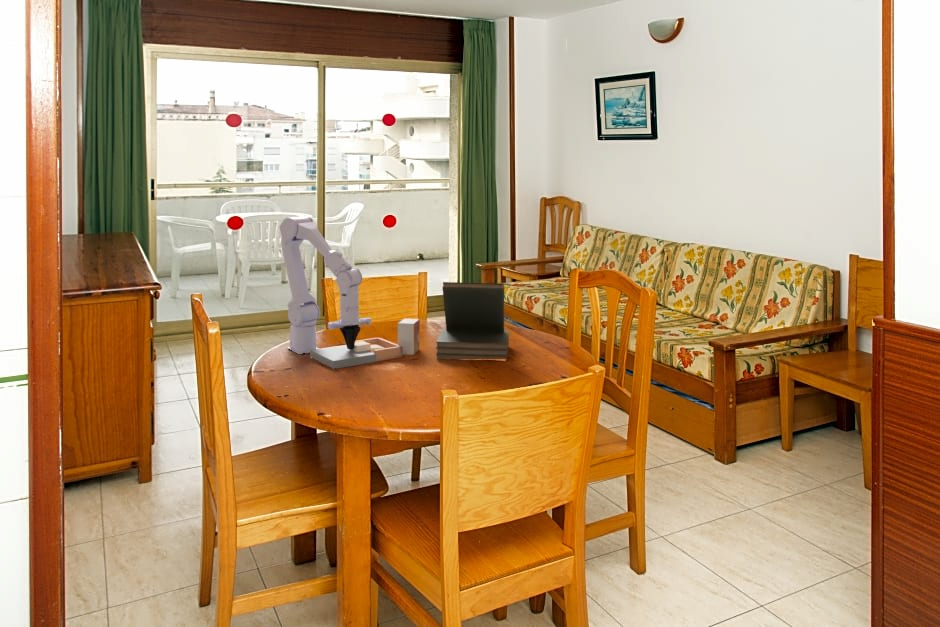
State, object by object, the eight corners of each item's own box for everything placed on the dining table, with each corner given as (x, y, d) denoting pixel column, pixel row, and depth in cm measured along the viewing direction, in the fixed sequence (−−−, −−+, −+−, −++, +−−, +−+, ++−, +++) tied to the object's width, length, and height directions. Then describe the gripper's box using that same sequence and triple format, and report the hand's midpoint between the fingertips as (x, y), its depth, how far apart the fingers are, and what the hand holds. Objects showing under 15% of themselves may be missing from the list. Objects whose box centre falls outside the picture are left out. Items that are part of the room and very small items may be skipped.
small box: (413, 355, 259) (413, 323, 257) (397, 354, 260) (397, 323, 258) (419, 349, 267) (420, 318, 265) (403, 348, 268) (403, 318, 266)
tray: (352, 351, 263) (352, 341, 262) (378, 347, 269) (378, 337, 268) (375, 361, 251) (375, 350, 250) (402, 356, 257) (402, 346, 256)
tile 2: (362, 351, 259) (363, 345, 259) (375, 350, 262) (376, 344, 262) (370, 354, 255) (370, 348, 255) (383, 353, 258) (384, 347, 258)
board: (310, 357, 254) (310, 350, 254) (351, 351, 263) (351, 343, 263) (333, 368, 242) (333, 361, 241) (376, 361, 251) (376, 354, 250)
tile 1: (349, 348, 256) (349, 342, 256) (362, 346, 259) (362, 340, 259) (356, 352, 252) (356, 345, 252) (370, 349, 255) (370, 343, 255)
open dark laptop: (508, 347, 272) (510, 275, 267) (507, 362, 253) (509, 285, 248) (442, 345, 274) (442, 274, 269) (435, 360, 255) (436, 283, 250)
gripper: (334, 311, 243) (335, 354, 246) (376, 306, 252) (376, 348, 255) (324, 307, 249) (325, 349, 252) (365, 303, 257) (365, 343, 260)
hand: (350, 348), depth 253 cm, fingers closed
